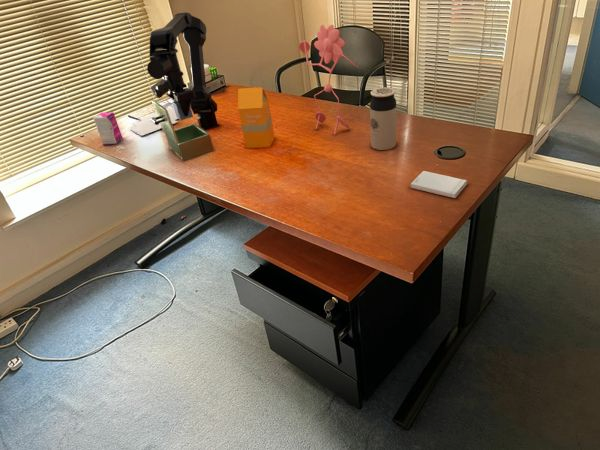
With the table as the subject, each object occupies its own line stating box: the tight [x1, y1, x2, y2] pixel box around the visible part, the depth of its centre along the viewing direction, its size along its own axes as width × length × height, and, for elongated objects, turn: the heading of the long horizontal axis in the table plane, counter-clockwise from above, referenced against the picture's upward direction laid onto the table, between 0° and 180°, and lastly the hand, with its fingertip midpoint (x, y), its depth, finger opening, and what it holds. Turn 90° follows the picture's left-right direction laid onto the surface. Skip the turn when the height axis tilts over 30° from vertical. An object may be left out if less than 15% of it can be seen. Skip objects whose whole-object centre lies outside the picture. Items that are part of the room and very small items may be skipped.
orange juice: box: [237, 86, 275, 149], centre depth 153 cm, size 8×9×20 cm
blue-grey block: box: [172, 101, 194, 121], centre depth 157 cm, size 5×5×6 cm
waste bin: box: [165, 123, 214, 162], centre depth 160 cm, size 12×15×6 cm
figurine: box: [298, 24, 359, 139], centre depth 153 cm, size 15×26×35 cm, turn 45°
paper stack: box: [128, 106, 179, 137], centre depth 191 cm, size 23×25×1 cm
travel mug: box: [369, 86, 397, 151], centre depth 139 cm, size 8×8×18 cm
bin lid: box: [151, 99, 179, 144], centre depth 151 cm, size 12×15×4 cm
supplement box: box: [93, 111, 124, 146], centre depth 174 cm, size 6×6×12 cm
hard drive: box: [410, 170, 468, 199], centre depth 119 cm, size 2×8×12 cm
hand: (184, 114), depth 158 cm, fingers closed on blue-grey block, 4 cm apart
